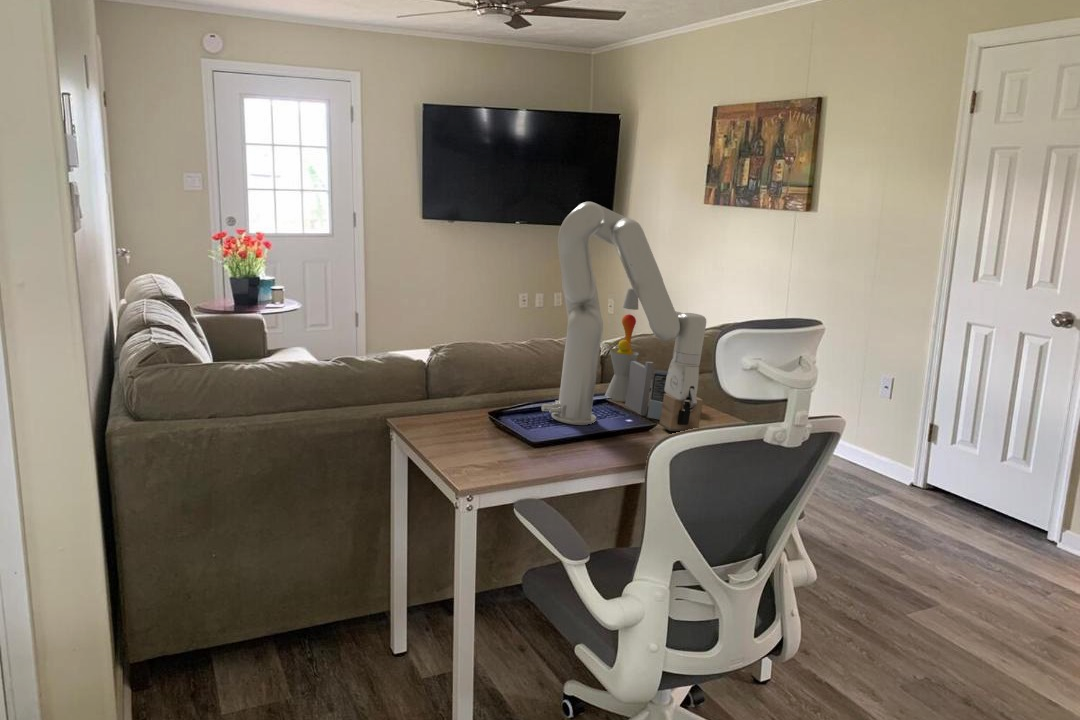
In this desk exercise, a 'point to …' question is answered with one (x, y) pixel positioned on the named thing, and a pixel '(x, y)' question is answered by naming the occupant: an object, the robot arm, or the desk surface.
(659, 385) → the small box
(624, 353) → the lava lamp
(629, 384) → the grey rectangular panel
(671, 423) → the wooden block
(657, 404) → the door
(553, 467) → the desk surface
